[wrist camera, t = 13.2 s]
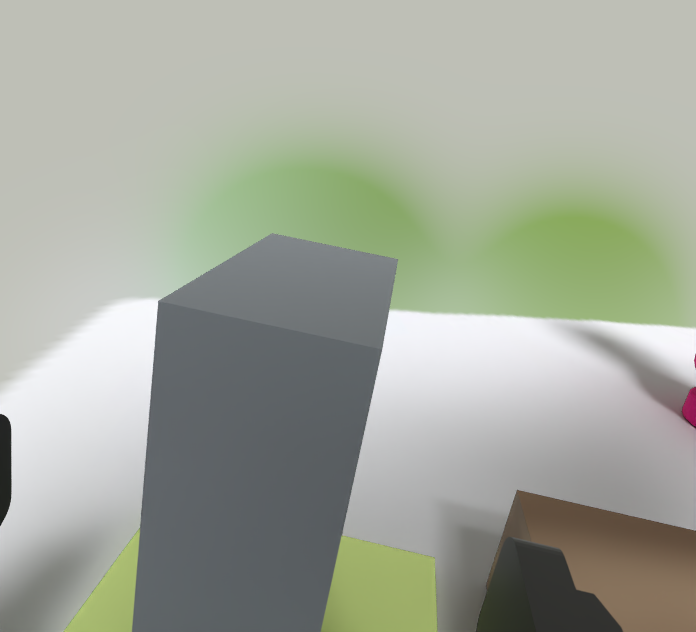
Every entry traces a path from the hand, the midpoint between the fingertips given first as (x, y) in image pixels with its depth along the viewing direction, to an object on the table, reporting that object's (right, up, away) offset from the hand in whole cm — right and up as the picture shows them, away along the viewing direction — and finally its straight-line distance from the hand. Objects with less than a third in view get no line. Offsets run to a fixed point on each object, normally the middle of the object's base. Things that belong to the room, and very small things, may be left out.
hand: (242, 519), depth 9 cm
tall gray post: (-1, -6, +5) cm, 8 cm away
